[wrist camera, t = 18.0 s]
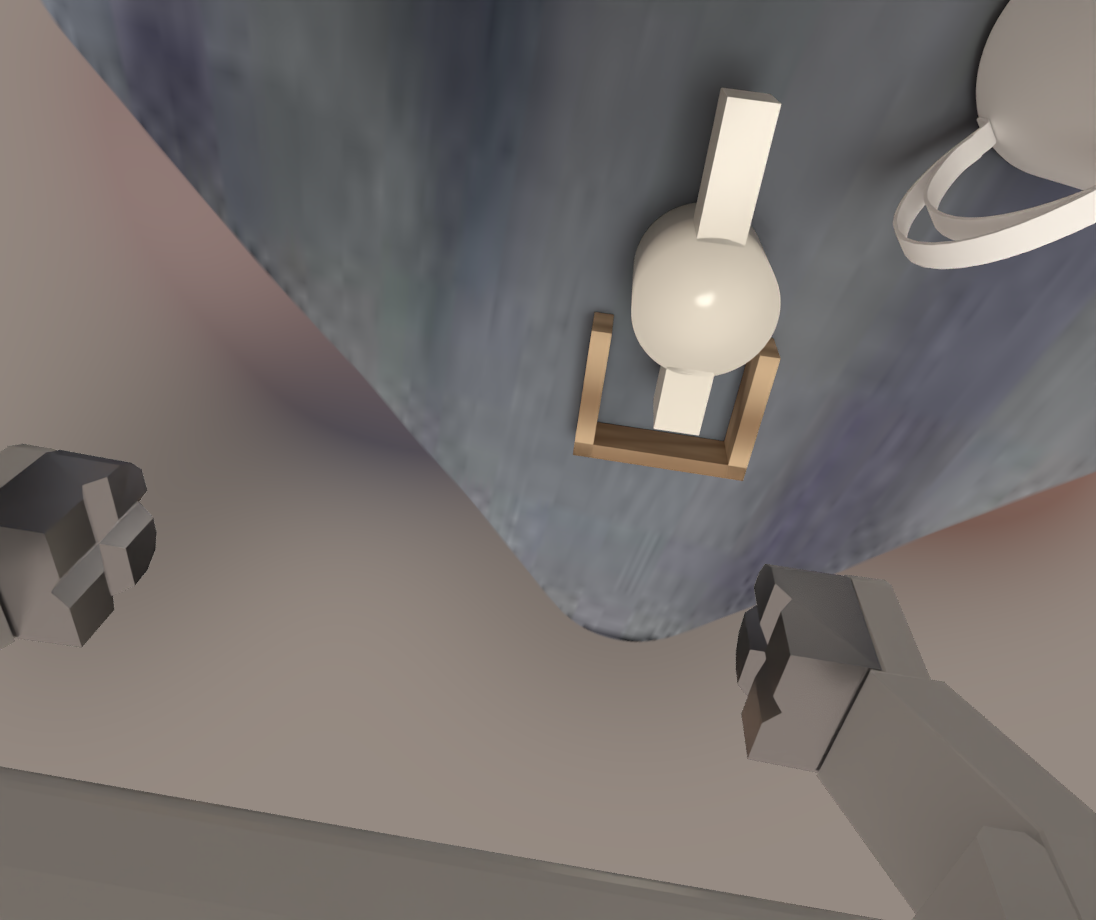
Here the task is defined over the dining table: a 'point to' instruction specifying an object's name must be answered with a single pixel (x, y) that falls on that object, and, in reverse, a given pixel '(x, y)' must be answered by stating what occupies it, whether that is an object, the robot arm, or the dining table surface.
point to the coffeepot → (1020, 136)
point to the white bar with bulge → (709, 269)
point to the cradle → (668, 447)
